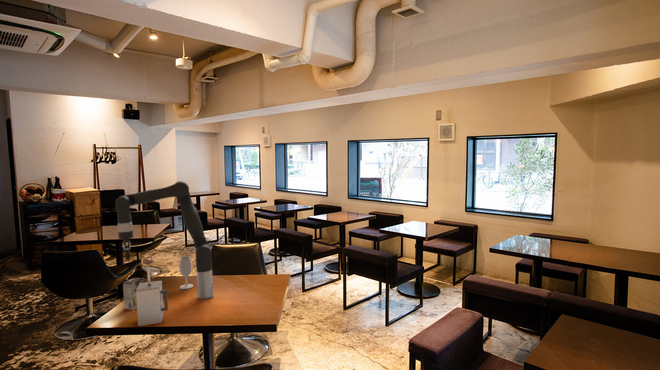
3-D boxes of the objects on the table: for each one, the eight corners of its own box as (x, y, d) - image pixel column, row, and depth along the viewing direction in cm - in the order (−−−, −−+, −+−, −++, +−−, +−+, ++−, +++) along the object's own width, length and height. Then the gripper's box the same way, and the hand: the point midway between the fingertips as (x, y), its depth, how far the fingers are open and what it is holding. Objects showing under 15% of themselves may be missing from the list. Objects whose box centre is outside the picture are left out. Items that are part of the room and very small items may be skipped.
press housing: (169, 313, 201) (167, 279, 199) (167, 321, 190) (165, 286, 189) (141, 317, 196) (139, 283, 195) (138, 326, 186) (136, 290, 184)
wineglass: (180, 290, 235) (178, 259, 234) (179, 286, 243) (177, 256, 242) (194, 288, 239) (192, 257, 238) (192, 284, 247) (191, 254, 246)
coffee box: (135, 302, 216) (134, 277, 215) (144, 303, 215) (143, 277, 214) (124, 309, 207) (122, 282, 206) (133, 309, 206) (131, 283, 205)
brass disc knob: (159, 292, 197) (157, 256, 196) (157, 297, 189) (155, 260, 188) (142, 294, 194) (140, 257, 193) (139, 299, 186) (137, 262, 185)
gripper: (133, 231, 201) (135, 259, 202) (132, 227, 213) (134, 253, 214) (118, 233, 197) (120, 261, 198) (117, 229, 209) (119, 256, 210)
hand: (127, 257), depth 206 cm, fingers open, 8 cm apart
